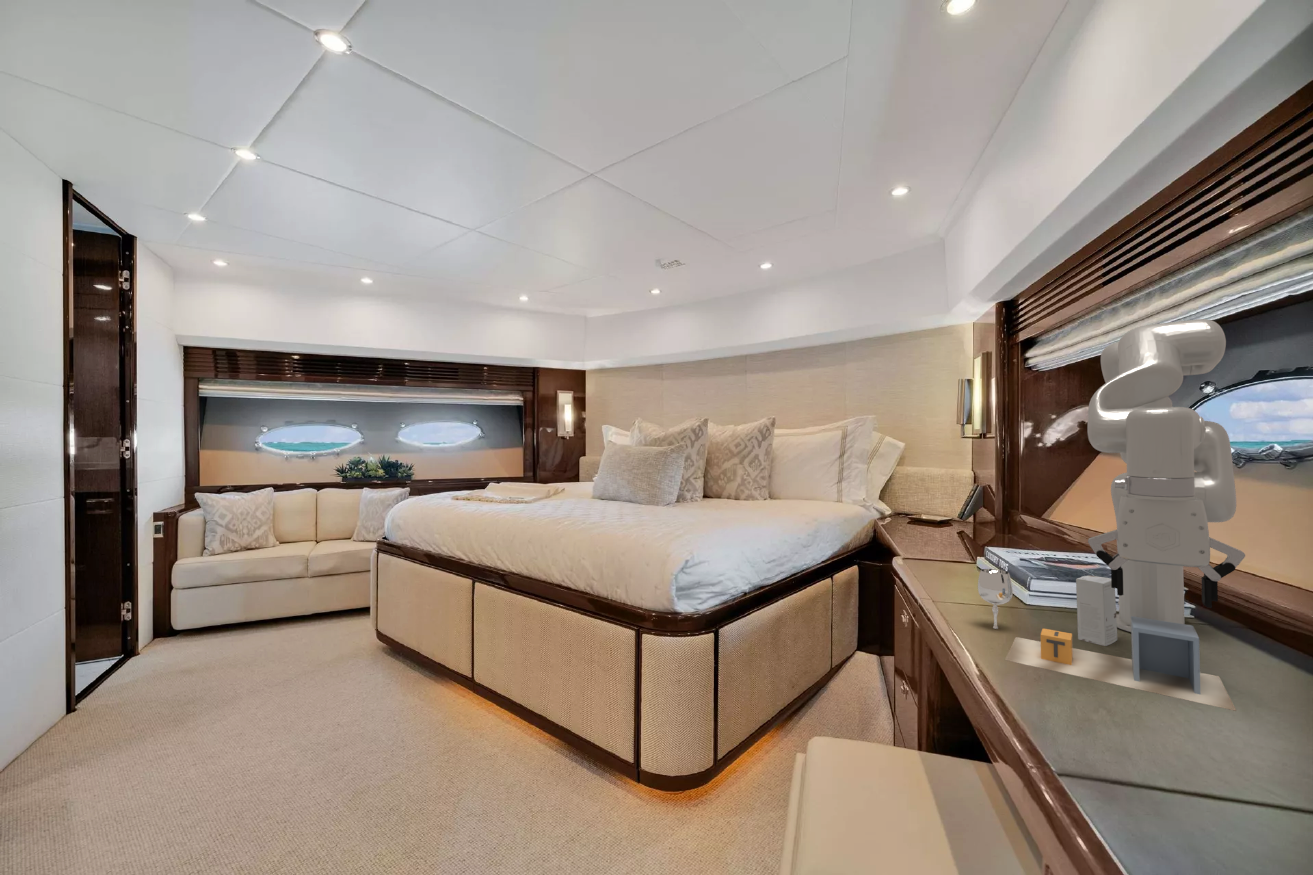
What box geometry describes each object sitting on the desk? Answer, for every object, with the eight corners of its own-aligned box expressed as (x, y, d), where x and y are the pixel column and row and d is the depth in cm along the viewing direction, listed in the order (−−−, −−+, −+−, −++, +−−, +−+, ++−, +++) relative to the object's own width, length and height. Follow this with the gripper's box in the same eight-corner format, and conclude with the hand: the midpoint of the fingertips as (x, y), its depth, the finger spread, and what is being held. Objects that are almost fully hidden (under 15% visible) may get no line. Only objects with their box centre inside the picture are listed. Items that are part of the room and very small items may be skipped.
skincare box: (1106, 652, 93) (1105, 583, 93) (1076, 644, 97) (1074, 578, 97) (1118, 645, 96) (1117, 578, 97) (1088, 637, 100) (1087, 574, 100)
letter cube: (1043, 651, 90) (1042, 628, 91) (1072, 657, 88) (1072, 633, 88) (1040, 658, 87) (1040, 634, 87) (1071, 665, 85) (1071, 640, 85)
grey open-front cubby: (1132, 666, 84) (1131, 616, 85) (1193, 678, 80) (1192, 625, 80) (1134, 680, 79) (1133, 627, 79) (1200, 694, 75) (1199, 638, 75)
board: (1005, 666, 87) (1005, 659, 87) (1015, 642, 97) (1015, 637, 98) (1236, 718, 70) (1236, 710, 70) (1219, 682, 81) (1218, 676, 81)
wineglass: (971, 630, 104) (970, 569, 104) (990, 626, 106) (990, 567, 107) (1000, 639, 99) (999, 576, 99) (1020, 635, 101) (1019, 573, 101)
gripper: (1086, 488, 83) (1088, 595, 83) (1249, 494, 72) (1251, 617, 72) (1087, 483, 89) (1089, 584, 89) (1238, 488, 78) (1240, 603, 78)
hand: (1161, 599), depth 81 cm, fingers open, 9 cm apart
